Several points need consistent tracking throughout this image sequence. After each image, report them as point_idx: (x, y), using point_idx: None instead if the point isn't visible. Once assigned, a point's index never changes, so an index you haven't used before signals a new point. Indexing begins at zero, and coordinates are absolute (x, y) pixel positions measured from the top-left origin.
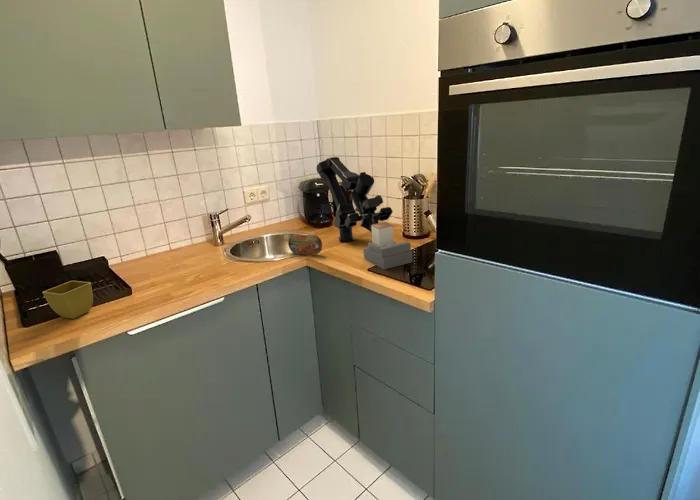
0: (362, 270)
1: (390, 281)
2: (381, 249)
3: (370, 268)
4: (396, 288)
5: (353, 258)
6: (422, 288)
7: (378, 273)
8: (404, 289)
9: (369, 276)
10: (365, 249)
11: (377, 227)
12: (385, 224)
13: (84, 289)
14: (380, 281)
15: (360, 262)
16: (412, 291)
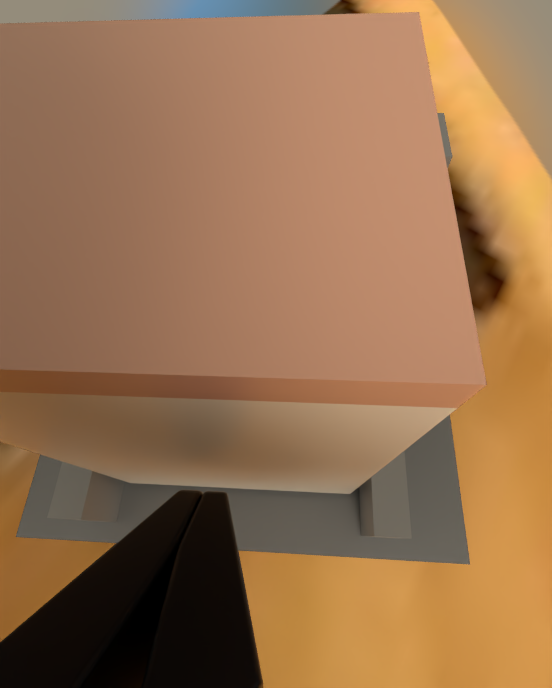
0: (547, 305)
1: (447, 104)
2: (443, 116)
3: (472, 303)
4: (459, 48)
5: (535, 664)
6: (358, 12)
7: (458, 207)
8: (431, 31)
9: (534, 201)
10: (459, 505)
11: (422, 52)
12: (52, 123)
13: None
14: (498, 125)
15: (501, 478)
16: (411, 11)
